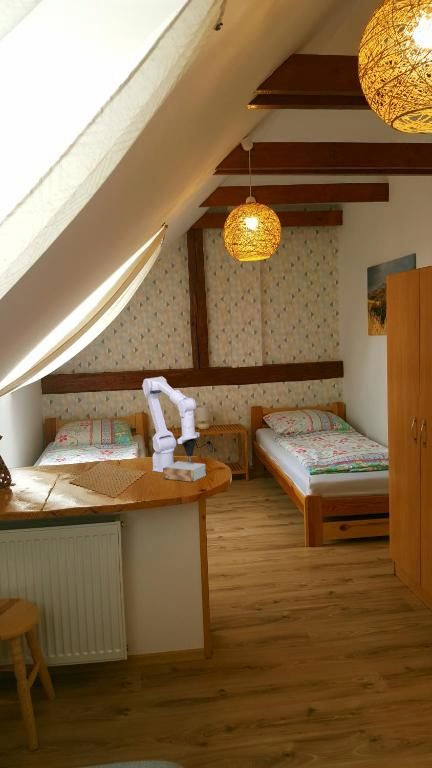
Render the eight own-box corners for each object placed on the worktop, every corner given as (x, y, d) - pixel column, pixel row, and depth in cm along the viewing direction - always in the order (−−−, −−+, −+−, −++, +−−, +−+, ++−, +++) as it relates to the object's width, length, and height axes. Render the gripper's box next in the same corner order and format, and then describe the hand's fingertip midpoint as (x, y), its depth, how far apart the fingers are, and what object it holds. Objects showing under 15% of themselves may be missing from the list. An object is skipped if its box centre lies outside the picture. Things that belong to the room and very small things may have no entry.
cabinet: (166, 477, 255) (165, 466, 254) (178, 471, 264) (178, 461, 263) (193, 481, 247) (193, 470, 247) (206, 474, 256) (205, 464, 255)
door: (194, 480, 247) (193, 470, 246) (191, 482, 245) (190, 471, 244) (164, 477, 254) (164, 467, 253) (162, 479, 252) (161, 468, 251)
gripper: (186, 429, 242) (188, 461, 243) (204, 423, 254) (206, 452, 256) (172, 428, 245) (174, 459, 247) (191, 422, 257) (193, 451, 259)
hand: (189, 456), depth 252 cm, fingers closed
